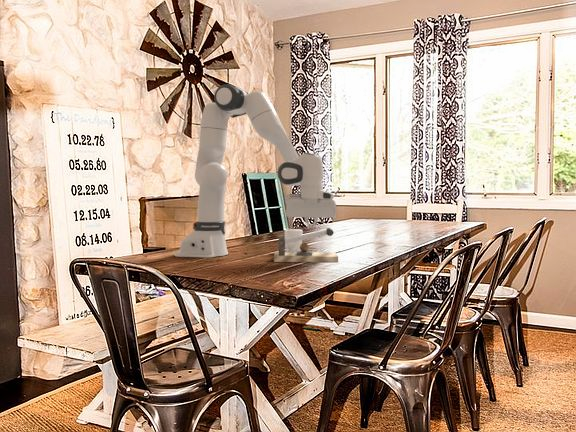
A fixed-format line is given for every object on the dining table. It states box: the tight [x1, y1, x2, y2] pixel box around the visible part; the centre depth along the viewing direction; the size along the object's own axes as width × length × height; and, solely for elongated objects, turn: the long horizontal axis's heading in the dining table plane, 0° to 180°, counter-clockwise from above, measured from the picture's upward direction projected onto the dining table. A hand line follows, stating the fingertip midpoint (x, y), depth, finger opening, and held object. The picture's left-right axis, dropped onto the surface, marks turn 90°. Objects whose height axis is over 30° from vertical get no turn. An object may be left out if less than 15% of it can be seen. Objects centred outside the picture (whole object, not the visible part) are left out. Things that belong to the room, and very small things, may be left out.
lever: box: [285, 227, 334, 244], centre depth 220 cm, size 22×6×3 cm, turn 91°
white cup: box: [283, 228, 304, 252], centre depth 240 cm, size 8×8×10 cm
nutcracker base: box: [273, 235, 339, 263], centre depth 221 cm, size 25×12×9 cm, turn 90°
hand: (310, 228), depth 220 cm, fingers closed
